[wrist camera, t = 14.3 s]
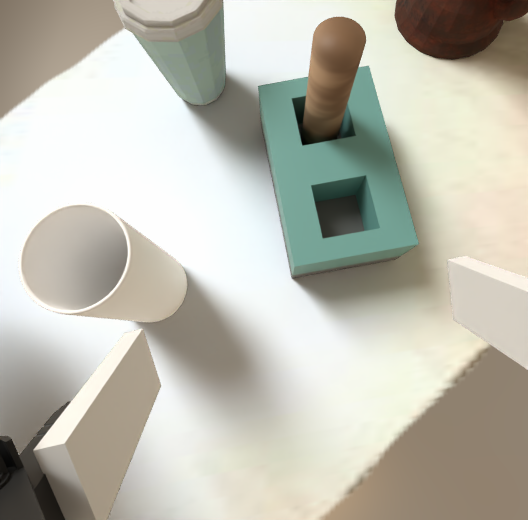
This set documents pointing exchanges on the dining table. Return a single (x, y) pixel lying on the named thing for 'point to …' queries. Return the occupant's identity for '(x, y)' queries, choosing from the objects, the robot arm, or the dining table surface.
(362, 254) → the socket block
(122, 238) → the cup
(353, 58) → the walnut pin
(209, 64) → the disposable coffee cup
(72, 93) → the dining table surface
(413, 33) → the lantern
